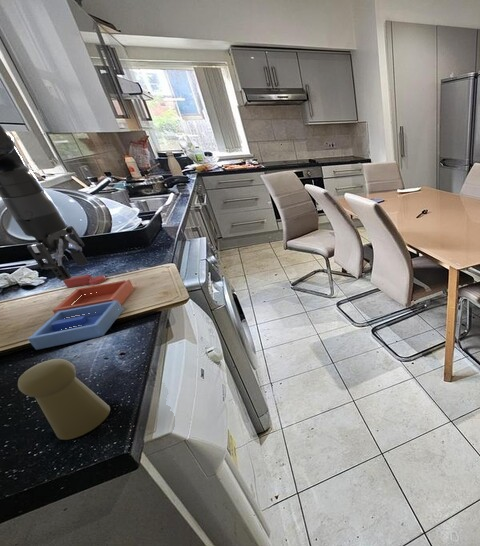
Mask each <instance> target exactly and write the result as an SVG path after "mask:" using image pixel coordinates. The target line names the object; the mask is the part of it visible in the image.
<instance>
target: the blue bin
mask: <svg viewBox="0 0 480 546" xmlns="http://www.w3.org/2000/svg"><path fill="white" fill-rule="evenodd" d="M118 309H119V310H118ZM123 311H124V308H123V306H122V304H121V305H120V303H119V301H118V300H116V301H111V302H106V303H100V304H95V305H90V306H84V307H79V308H74V309H68V310H63V311H58V312H57V313H56V314H53V315H52V316H51V317H50V318H49V319H48V320H47V321H46V322H44V324H42V326H40V327H39V328H38V329H37V330H36V331H34V333H33V334H32V335H31V336H30V337H28V338H27V341H28V342H29V343H30V344H31V346H32V348H34V349H35V351H38V350H43V349H46V348H52V347H57V346H61V345H66V344H70V343H75V342H79V341H80V342H81V341H85V340H90V339H94V338H99V337H104V336H105V334H107V332H108V330H109V329H110V328H111V327H112V325H113V324H114V323H115V321H116V320H118V318H119V316H120V315H121V314H122V312H123ZM95 312H96V313H95ZM88 313H90V314H88ZM82 314H85V316H86V317H87V319H90V318H92V317H95V316H101V317H100V318H99V319H98V320H97V321H96V322H95V324H92V325H87V326H82V327H77V328H72V329H67V330H62V331H57V332H55V330H54V329H53V328H52V326H51V324H52V323H53V322H54V321H58V320H63V319H64V318H65V319H68V318H66V317H70V318H74V317H71V316H75V315H80V316H84V315H82ZM75 317H79V316H75Z"/></svg>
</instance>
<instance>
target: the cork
mask: <svg viewBox="0 0 480 546" xmlns="http://www.w3.org/2000/svg"><path fill="white" fill-rule="evenodd" d="M76 375H77V371H76V366H75V365H74V364H73V363H72V362H71V361H69V360H67V359H64V358H53V359H48V360H45V361H42V362H40V363H37V364H35V365H33V366H31V367H29V368H28V369H27V370H25V371H24V372H23V373H22V374H21V375H20V376H19V377H18V381H17V387H18V391H20V392H21V393H22V394H23V395H25V396H27V397H29V398H35V400H36V402H37V404H38V405H39V407H40V409H41V411H42V412H43V414H44V416H45V418H46V420H47V422H48V424H49V425H50V427H51V429H52V430H53V433H54V435H55V436H56V437H57V438H58V439H59V440H62V441H63V440H64V441H68V440H72V439H76V438H79V437H81V436H83V435H85V434H87V433H90V432H91V431H93V430H94V429H96V428H97V427H98V426H100V425H101V424H102V423H103V422H104V421H105V420H106V419H107V418H108V416H109V415H110V412H111V406H110V405H109V404H107V403H106V402H105V401H104V400H103V399H102V398H101V397H100V396H98V395H97V394H96V393H95V392H94V391H93V390H91V389H90V387H88V386H87V385H86V384H84V383H83V382H82V381H81V380H80V379H79V378H78V377H77V376H76Z"/></svg>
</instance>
